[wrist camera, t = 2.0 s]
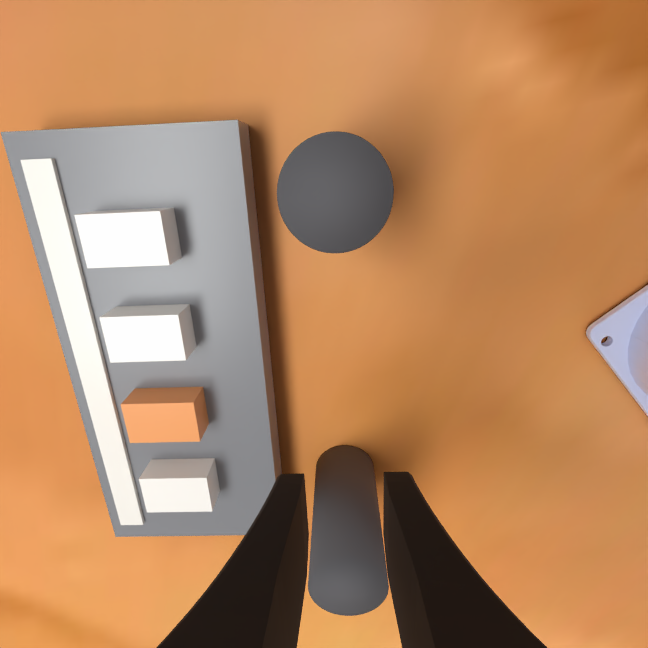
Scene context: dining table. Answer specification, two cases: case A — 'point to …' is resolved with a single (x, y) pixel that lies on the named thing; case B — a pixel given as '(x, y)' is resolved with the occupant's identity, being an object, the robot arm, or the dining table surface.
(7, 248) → the dining table surface
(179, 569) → the dining table surface
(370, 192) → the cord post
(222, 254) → the breaker panel
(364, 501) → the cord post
